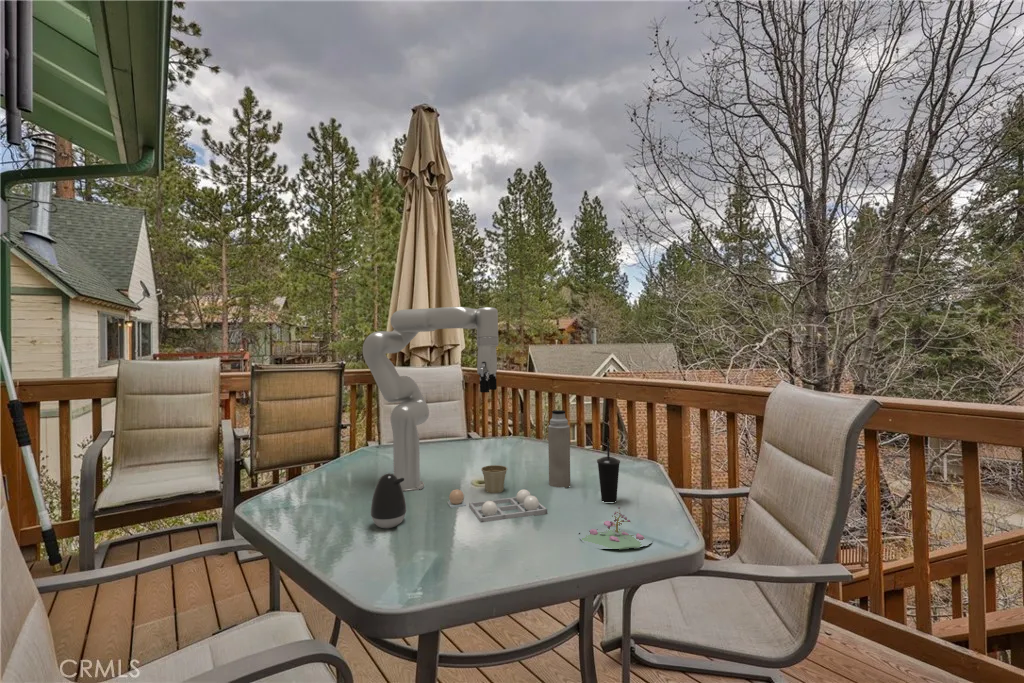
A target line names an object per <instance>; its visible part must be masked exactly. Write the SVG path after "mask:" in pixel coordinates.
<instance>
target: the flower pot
mask: <svg viewBox="0 0 1024 683" xmlns="http://www.w3.org/2000/svg"><path fill="white" fill-rule="evenodd" d="M480 470H481V472H482V474H483V480H484V481H483V482H484V489H485V492H487V493H490V494H497V493H502V492H504V487H505V479H506V474H507V471H508V467H507V466H504V465H498V464H496V465H495V464H494V465H493V464H492V465H485V466H483V467H481V468H480Z"/></svg>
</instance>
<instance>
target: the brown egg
mask: <svg viewBox="0 0 1024 683" xmlns="http://www.w3.org/2000/svg"><path fill="white" fill-rule="evenodd" d="M448 497H449V498H448V500H449V501H450V502H451V503H452V504H453V505H456V504H461V503H462V501H464V499H465V495H464V493H463V491H462V490H460V489H458V488H457V489H453V490H451V491H450V494H449V496H448Z"/></svg>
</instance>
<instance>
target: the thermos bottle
mask: <svg viewBox="0 0 1024 683" xmlns="http://www.w3.org/2000/svg"><path fill="white" fill-rule="evenodd" d="M551 414H552V415H551V419H549V425H548V426H547V428H548V429H547V433H548V435H547V436H548V440H547V441H548V442H547V443H548V485H549V486H550V487H553V488H564V489H568V488H567V487H569V486H570V487H571V445H570V444H571V441H570V440H571V435H570V434H571V431H570V429H571V428H570V424H568V423H569V421H568V418H566V411H565V410H562V409H561V410H560V409H556V410H552V411H551ZM570 487H569V488H570Z"/></svg>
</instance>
